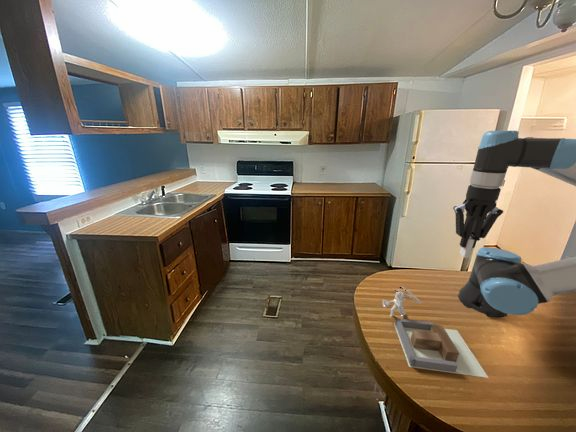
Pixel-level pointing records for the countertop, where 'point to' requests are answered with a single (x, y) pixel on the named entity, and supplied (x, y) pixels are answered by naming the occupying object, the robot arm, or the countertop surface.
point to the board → (433, 358)
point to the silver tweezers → (410, 294)
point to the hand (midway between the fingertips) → (464, 255)
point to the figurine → (396, 304)
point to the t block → (435, 342)
